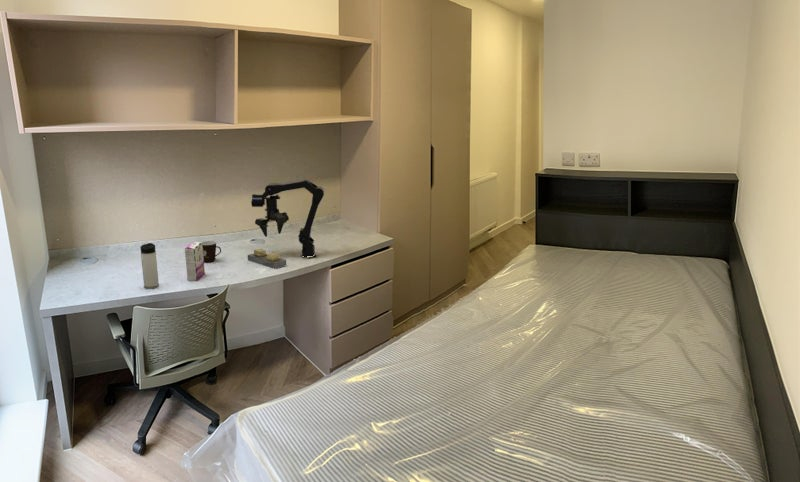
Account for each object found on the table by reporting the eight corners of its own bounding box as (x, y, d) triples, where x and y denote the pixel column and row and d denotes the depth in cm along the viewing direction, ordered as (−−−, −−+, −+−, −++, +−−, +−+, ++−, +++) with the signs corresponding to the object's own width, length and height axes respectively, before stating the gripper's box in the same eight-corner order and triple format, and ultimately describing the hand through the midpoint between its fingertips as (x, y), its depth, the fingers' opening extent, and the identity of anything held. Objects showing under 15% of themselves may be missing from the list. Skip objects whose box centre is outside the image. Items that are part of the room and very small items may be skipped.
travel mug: (161, 284, 272) (157, 242, 267) (155, 289, 266) (152, 246, 261) (147, 284, 272) (143, 242, 267) (141, 288, 266) (137, 246, 260)
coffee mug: (197, 260, 308) (196, 242, 306) (212, 257, 314) (211, 239, 312) (208, 265, 300) (206, 247, 298) (223, 262, 306) (222, 244, 304)
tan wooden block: (274, 263, 307) (273, 252, 306) (279, 265, 305) (279, 254, 303) (267, 265, 304) (267, 254, 302) (272, 267, 301) (272, 255, 300)
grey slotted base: (260, 257, 317) (259, 251, 317) (286, 265, 304) (286, 260, 303) (247, 260, 311) (247, 254, 311) (274, 269, 298) (274, 263, 297)
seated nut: (261, 259, 314) (260, 248, 312) (266, 260, 311) (265, 250, 310) (254, 260, 311) (253, 250, 309) (259, 262, 308) (259, 251, 306)
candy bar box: (195, 273, 288) (192, 241, 284) (205, 273, 288) (202, 241, 284) (186, 280, 277) (184, 247, 273) (197, 281, 277) (194, 248, 273)
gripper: (267, 211, 300) (268, 241, 304) (295, 206, 314) (295, 234, 318) (253, 208, 307) (255, 237, 311) (281, 203, 321) (282, 231, 325)
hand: (272, 235), depth 316 cm, fingers open, 9 cm apart
